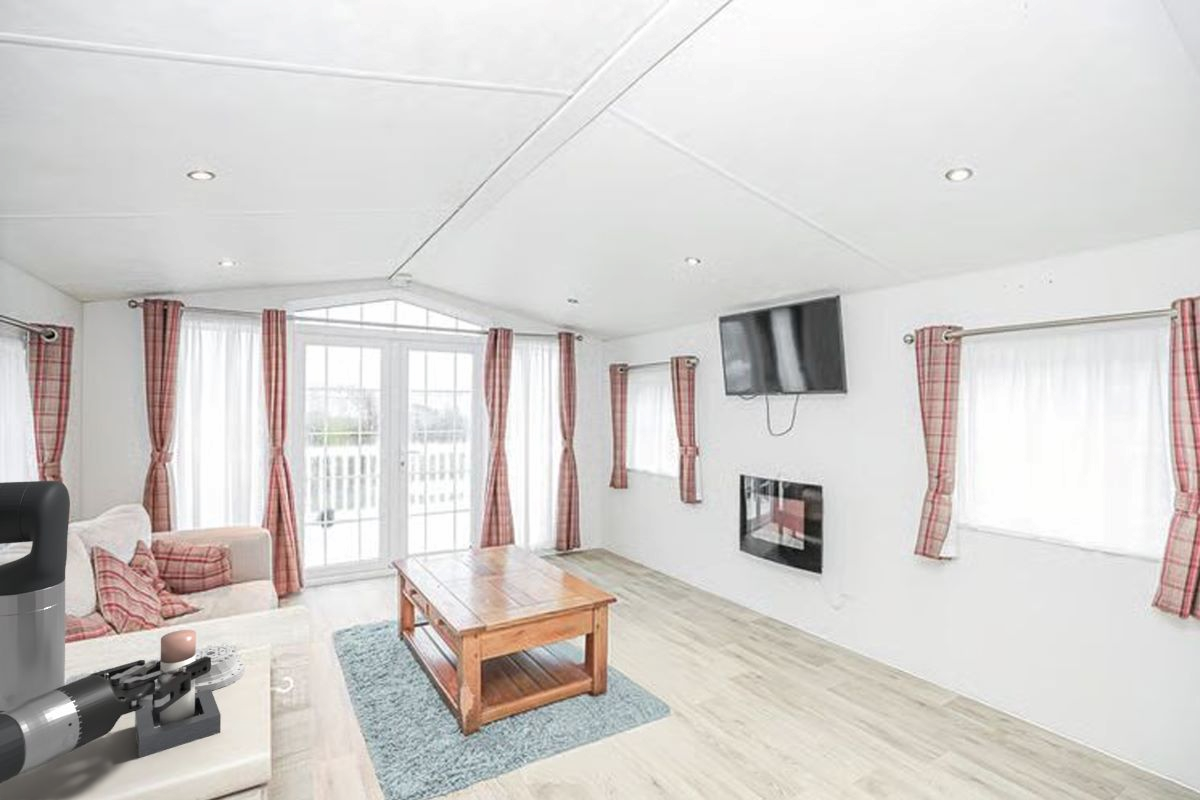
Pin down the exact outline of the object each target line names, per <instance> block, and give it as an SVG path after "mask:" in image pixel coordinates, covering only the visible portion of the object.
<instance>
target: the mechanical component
mask: <svg viewBox="0 0 1200 800" xmlns="http://www.w3.org/2000/svg"><path fill="white" fill-rule="evenodd" d="M203 657H210V658H211V669H210V671H209V672H208V673H206V674H204V675H202V676H200V677H197V678H195V689H197V690H200V691H204V690H208V689H211V691H215V690H218V689H221V688H224V687H227V686H228V685H231V684H233V683H235V682H237V681H238V680H239V679H241V677H243V676H244V674H245V668H246V665H245V662H244V661H243V660H242V659H240V658H238V657H237V648H235V647H234V646H233V645H229V644H225V645H224V644H219V645H213V646H212V645H209V646H207V647H204V648H198V649H197V648H196V655H195V661H196V660H198V659H200V658H203Z"/></svg>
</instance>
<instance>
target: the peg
mask: <svg viewBox="0 0 1200 800" xmlns="http://www.w3.org/2000/svg"><path fill="white" fill-rule="evenodd" d="M196 639H197V632H196V630H194V629H193V630H192V629H181V630H180V629H179V630H176V631H172V632H168V633H166V634H165V635H162V636H161V637H160V660H161V664H160V670H163V671H164V672H168V671H171V670H174V669H177V668H180V667H182V666H184V665H187V664H189V663H191V662H194V661H195V655H196V650H197V647H196V646H197V642H196V641H197V640H196ZM174 678H175V676H174V677H171V678H169V679H168V680H167V683H168V682H169V681H171V680H172V679H174ZM194 716H196V715H195V679H193V680H191V691H189V692H188V693H187V694H185V695H184V696H183V697H181V698H180V699H179V700H177V701H176V702H174V703H173V704H172V705H170V706H169V707H168V708H166V709H165V710H164V711H162V712H160V725H159V727H160V726H164V725H167V724H171V723H174V722H177V721H181V720H184V719H188V718H191V717H194Z"/></svg>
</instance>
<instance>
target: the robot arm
mask: <svg viewBox="0 0 1200 800" xmlns="http://www.w3.org/2000/svg"><path fill="white" fill-rule="evenodd" d="M68 490H69V489H68V488H67V486H66V485H65V484H64V483H63V482H61V481H58V480H57V481H56V480H36V481H35V480H34V481H31V480H30V481H10V482H9V481H7V482H0V545H2V544H18V543H20V544H21V543H31V542H32V543H31V548H30V552H29V553H28V554H26V555H24V556H23V557H20V558H18V559H15V560H13V561H12V560H11V561H10V562H6V563H3V564H0V784H2V783H4V782H6V781H8V780H11V779H12V778H14V777H16V776H18V775H21V774H25V773H27V772H29V771H32V770H34V769H36V768H40V767H42V766H44V765H46V764H49V763H51V762H53V761H54V760H55V761H56V759H58V758H59V759H60V758H62V757H63V756H65V755H66V754H69V753H71V752H73V751H75V750H77V749H79V748H81V747H83V746H85V745H87V744H89V743H92V742H93V741H95V740H97V739H99V738H101V737H104V736H105V735H107V734H109V733H110V732H111V731H112V730H113V728H115V726H116V724H117V722H118V721H119V720H120V718H121V717H122V716H123V715H127V714H129V713H133V712H134V713H135V711H137V710H139V709H141V708H142V707H145V706H150V707H153V713H159V712H162V711H164V710H165V709H166V708H168V707H169V706H170V705H172V704H173V703H174V702H176V701H177V700H179V699H180V698H181V697H183V696H184V695H185V694H187V693H188V692H189V691H191V680H193V679H195V678H197V677H200V676H202V675H204V674H206V673H208V672H209V671H210V669H211V658H210V657H203V658H200V659H198V660H196V661H194V662H191V663H189V664H187V665H184V666H182V667H180V668H177V669H174V670H171V671H168V672H164V671H163V670H160V664H161V659H160V660H158V659H157V660H156V659H155V660H154V659H152V660H150V661H148V662H147V663H146V660H145V659H140V660H136V661H132V662H129V663H125V664H122V665H118V666H114V667H112V668H108V669H103V670H100V671H98V672H94V673H91V674H89V675H88V676H85V677H82V678H80V679H77V680H75V681H72V682H69V683H67V684H66V682H65V681H66V680H65V678H66V677H65V676H66V675H65V673H66V666H65V665H66V566H67V560H68V537H69V536H68V535H69V523H70V511H71V509H70V508H71V503H70V502H71V500H70V493H69V491H68ZM174 676H175V678H174V679H172V680H171V681H169V682H168V683H167V680H168V679H169V678H171V677H174ZM156 682H157V683H156ZM156 684H157V685H156Z"/></svg>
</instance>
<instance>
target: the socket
mask: <svg viewBox="0 0 1200 800" xmlns="http://www.w3.org/2000/svg"><path fill="white" fill-rule="evenodd" d="M134 715H135V716H134V721H135V722H134V729H135V736H136V737H135V738H136V744H137V752H138V758H140V759H141V758H143V757H146V756H149V755H152V754H155V753H158V752H161V751H166V750H169V749H172V748H175V747H177V746H181V745H184V744H187V743H191V742H195V741H197V740H201V739H203V738H207V737H210V736H212V735H213V736H214V735H215V734H219V733H221V726H222V725H221V717H222V715H221V712H220V710H219V707H218V705H217V702H216V699H215V696H214V694H213V690H211V689H208V690H204V691H201V692H197V693H195V716H194V717H191V718H188V719H184V720H181V721H177V722H174V723H171V724H167V725H164V726H160V712H159V713H153V707H150V706H143V707H142V708H141V709H139V710H137V711H134Z"/></svg>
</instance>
